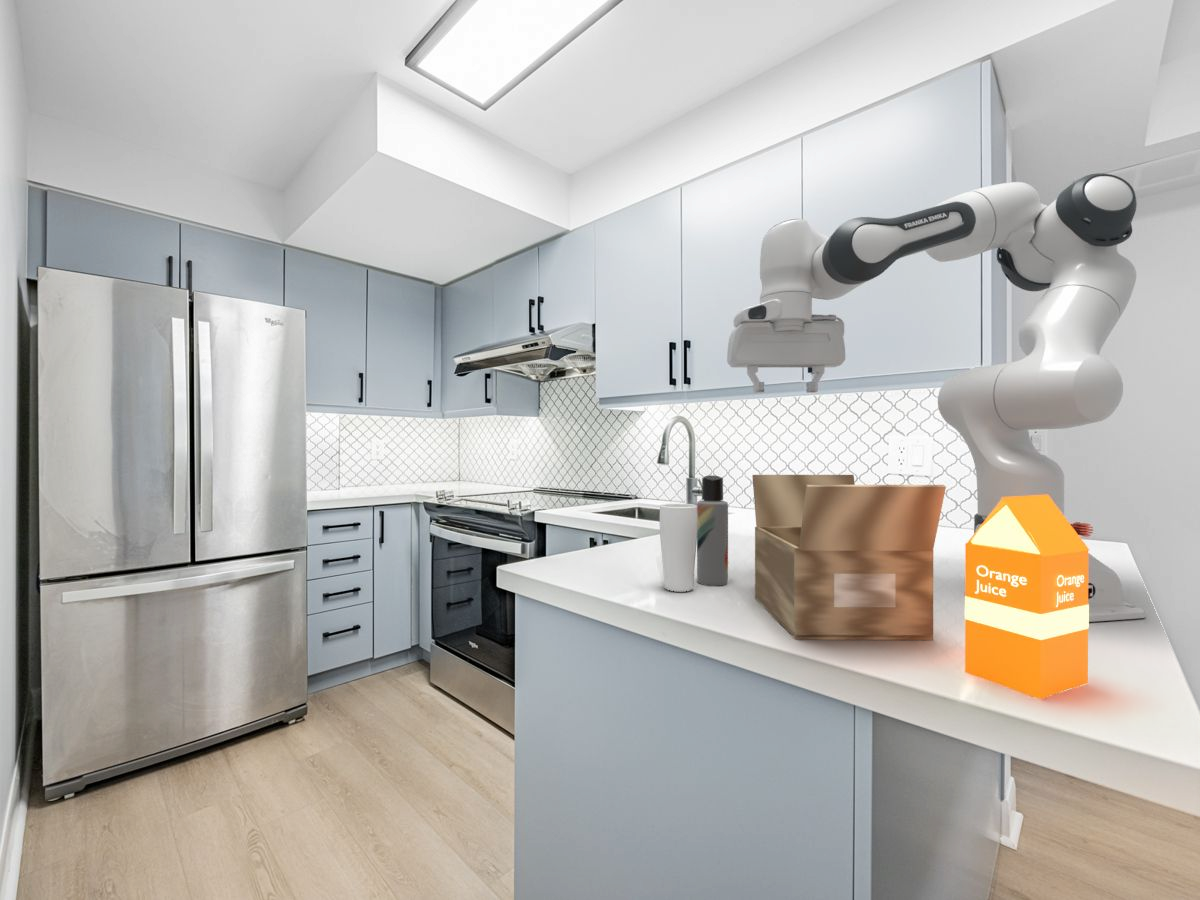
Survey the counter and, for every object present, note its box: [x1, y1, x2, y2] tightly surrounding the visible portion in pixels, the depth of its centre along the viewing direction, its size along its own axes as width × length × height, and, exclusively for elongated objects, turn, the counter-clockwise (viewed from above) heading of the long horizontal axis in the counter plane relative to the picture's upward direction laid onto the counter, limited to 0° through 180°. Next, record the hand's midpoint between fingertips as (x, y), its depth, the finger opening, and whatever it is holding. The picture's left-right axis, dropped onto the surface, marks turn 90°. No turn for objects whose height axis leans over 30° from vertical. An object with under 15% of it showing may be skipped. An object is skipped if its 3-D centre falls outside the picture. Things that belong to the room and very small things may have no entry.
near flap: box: [799, 484, 947, 552], centre depth 71 cm, size 17×9×1 cm
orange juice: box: [964, 495, 1090, 700], centre depth 61 cm, size 8×9×20 cm
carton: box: [754, 526, 934, 641], centre depth 83 cm, size 18×20×12 cm
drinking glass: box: [659, 503, 698, 593], centre depth 99 cm, size 7×7×15 cm
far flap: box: [751, 474, 856, 527], centre depth 95 cm, size 17×9×1 cm
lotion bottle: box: [696, 475, 729, 587], centre depth 104 cm, size 6×6×20 cm
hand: (785, 392), depth 99 cm, fingers open, 8 cm apart
